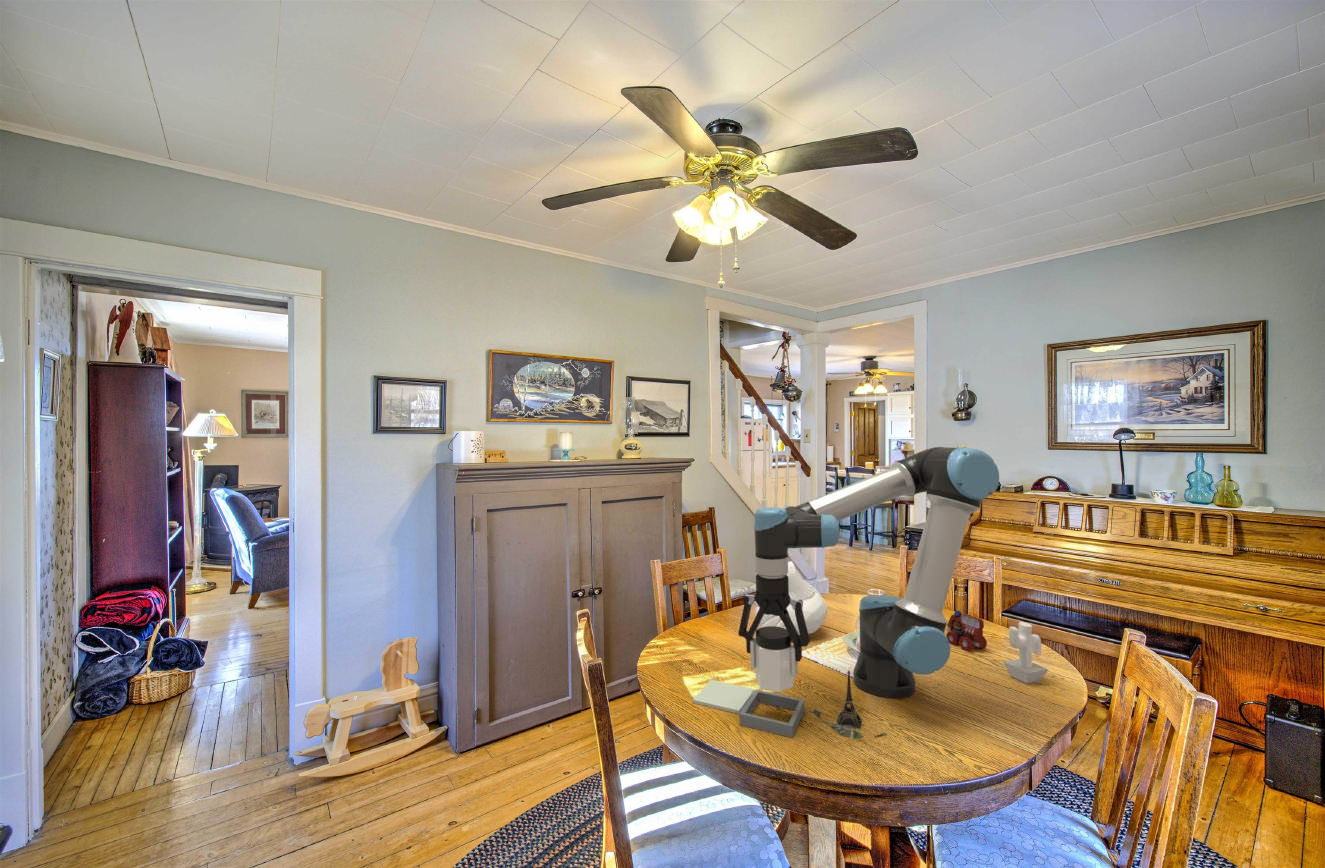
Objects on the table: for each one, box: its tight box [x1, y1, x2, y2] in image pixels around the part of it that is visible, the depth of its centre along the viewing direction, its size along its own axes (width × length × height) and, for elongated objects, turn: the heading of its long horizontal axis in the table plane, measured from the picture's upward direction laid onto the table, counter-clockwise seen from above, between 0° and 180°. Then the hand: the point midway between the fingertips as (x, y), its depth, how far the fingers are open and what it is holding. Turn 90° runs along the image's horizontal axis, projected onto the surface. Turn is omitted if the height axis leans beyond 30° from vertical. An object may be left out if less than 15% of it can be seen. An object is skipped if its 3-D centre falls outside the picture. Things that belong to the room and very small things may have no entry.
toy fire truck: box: [945, 610, 988, 652], centre depth 165 cm, size 7×12×10 cm, turn 17°
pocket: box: [738, 689, 806, 739], centre depth 124 cm, size 12×13×2 cm
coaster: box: [692, 679, 755, 714], centre depth 134 cm, size 12×12×1 cm
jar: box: [754, 626, 795, 693], centre depth 124 cm, size 9×8×12 cm
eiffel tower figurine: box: [810, 669, 888, 740], centre depth 122 cm, size 15×10×13 cm
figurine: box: [1003, 621, 1050, 684], centre depth 143 cm, size 7×9×15 cm
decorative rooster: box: [754, 561, 828, 636], centre depth 176 cm, size 25×16×25 cm
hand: (774, 670), depth 124 cm, fingers closed on jar, 9 cm apart
